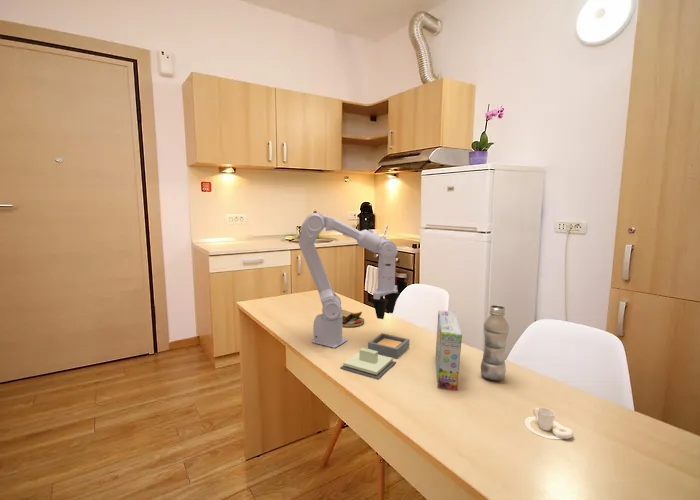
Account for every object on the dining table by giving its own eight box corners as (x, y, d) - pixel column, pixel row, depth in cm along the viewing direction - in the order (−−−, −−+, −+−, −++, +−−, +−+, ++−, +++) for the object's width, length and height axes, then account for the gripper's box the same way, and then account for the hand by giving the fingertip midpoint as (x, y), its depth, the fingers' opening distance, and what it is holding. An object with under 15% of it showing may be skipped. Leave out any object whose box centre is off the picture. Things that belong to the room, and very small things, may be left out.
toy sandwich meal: (355, 330, 134) (356, 318, 133) (324, 324, 140) (324, 312, 139) (369, 321, 145) (369, 309, 145) (339, 316, 151) (340, 305, 151)
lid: (343, 366, 102) (343, 352, 102) (361, 353, 111) (361, 341, 111) (376, 376, 97) (377, 361, 96) (392, 362, 106) (393, 348, 106)
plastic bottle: (504, 374, 100) (509, 305, 98) (506, 385, 94) (511, 311, 92) (479, 370, 103) (484, 302, 100) (480, 381, 96) (485, 309, 94)
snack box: (459, 391, 91) (463, 334, 89) (437, 388, 92) (439, 332, 90) (453, 357, 112) (455, 310, 110) (434, 355, 113) (436, 308, 111)
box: (368, 351, 114) (368, 342, 114) (381, 341, 123) (381, 333, 123) (397, 358, 109) (397, 349, 109) (409, 347, 118) (409, 339, 118)
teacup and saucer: (579, 441, 73) (581, 423, 72) (545, 446, 71) (547, 427, 71) (547, 416, 81) (549, 399, 81) (516, 420, 80) (517, 403, 79)
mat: (340, 368, 102) (340, 367, 102) (360, 354, 112) (360, 352, 112) (378, 379, 96) (378, 378, 96) (396, 363, 106) (396, 361, 106)
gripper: (388, 281, 111) (386, 323, 113) (405, 274, 124) (404, 312, 125) (368, 278, 115) (367, 319, 117) (387, 271, 127) (386, 308, 129)
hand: (385, 315), depth 121 cm, fingers open, 7 cm apart
